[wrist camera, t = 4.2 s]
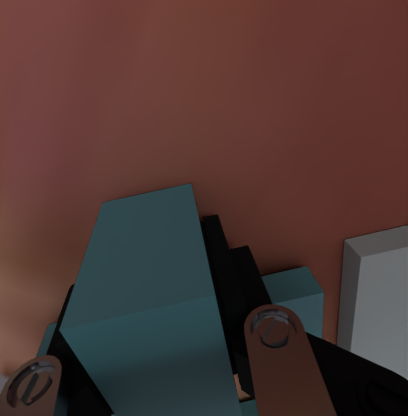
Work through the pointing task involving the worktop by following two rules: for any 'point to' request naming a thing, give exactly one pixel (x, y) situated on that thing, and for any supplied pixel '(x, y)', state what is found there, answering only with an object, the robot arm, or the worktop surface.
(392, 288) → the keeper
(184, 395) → the link
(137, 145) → the worktop surface
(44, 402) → the robot arm
